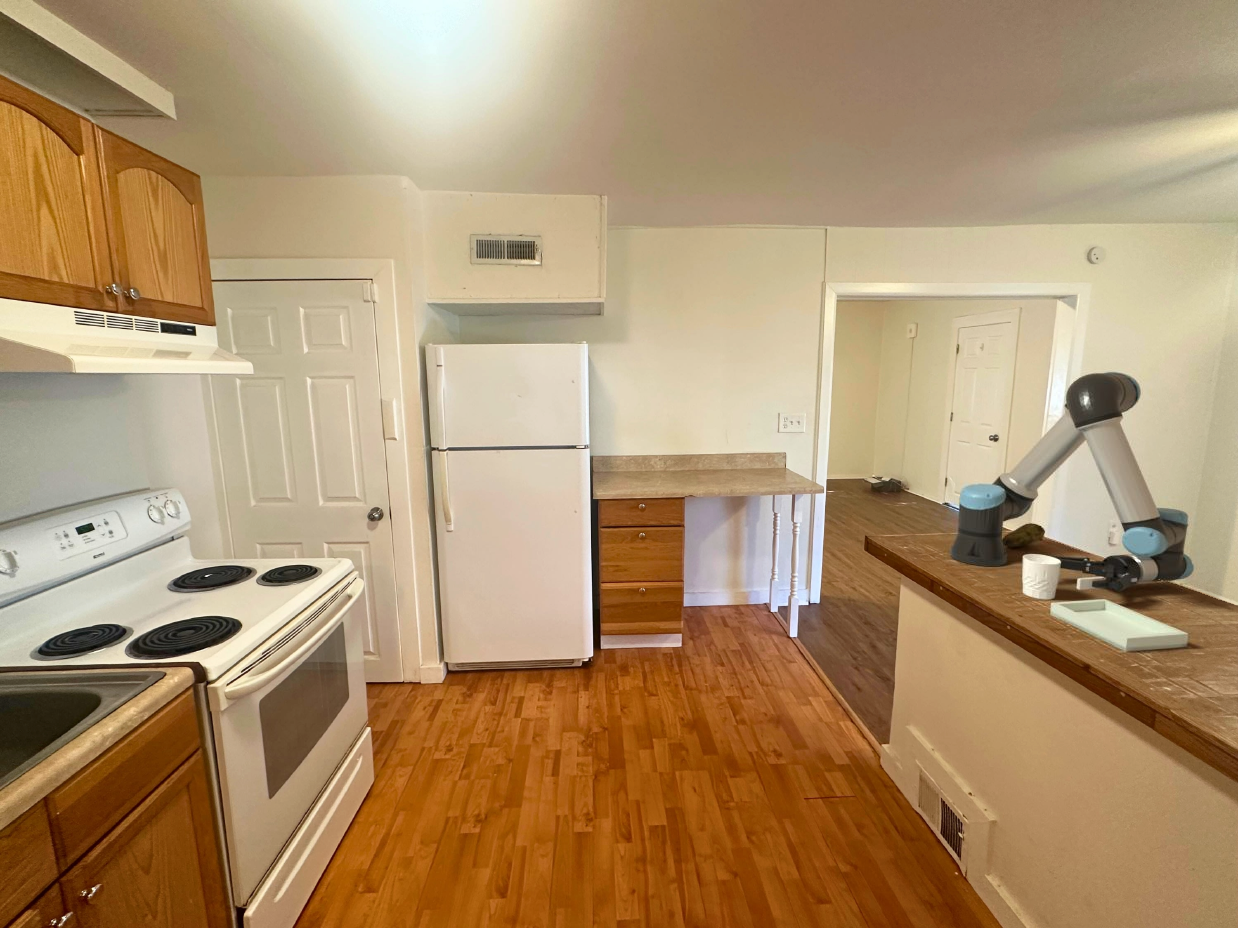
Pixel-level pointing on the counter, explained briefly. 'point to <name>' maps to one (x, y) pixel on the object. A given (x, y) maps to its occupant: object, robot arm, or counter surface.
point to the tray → (1119, 625)
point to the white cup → (1040, 576)
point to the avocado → (1024, 535)
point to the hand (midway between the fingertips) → (1053, 574)
